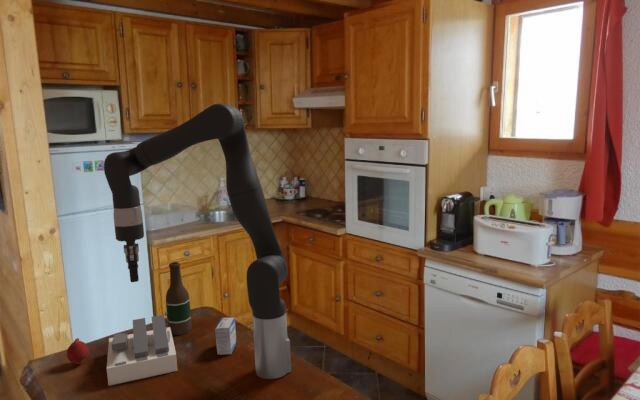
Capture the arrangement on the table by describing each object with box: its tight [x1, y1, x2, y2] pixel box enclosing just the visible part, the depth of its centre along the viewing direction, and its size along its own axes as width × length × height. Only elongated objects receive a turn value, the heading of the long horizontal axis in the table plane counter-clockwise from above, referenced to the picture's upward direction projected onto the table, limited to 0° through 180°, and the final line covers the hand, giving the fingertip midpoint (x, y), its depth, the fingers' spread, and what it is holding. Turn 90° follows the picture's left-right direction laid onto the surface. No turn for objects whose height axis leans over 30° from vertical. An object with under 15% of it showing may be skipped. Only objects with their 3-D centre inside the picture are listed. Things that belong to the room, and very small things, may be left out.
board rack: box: [106, 326, 179, 387], centre depth 138 cm, size 18×20×8 cm
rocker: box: [132, 317, 149, 358], centre depth 137 cm, size 4×16×2 cm, turn 22°
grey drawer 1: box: [151, 314, 169, 354], centre depth 139 cm, size 4×16×2 cm, turn 22°
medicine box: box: [214, 317, 237, 356], centre depth 144 cm, size 8×4×9 cm, turn 179°
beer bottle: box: [165, 261, 193, 336], centre depth 157 cm, size 8×8×24 cm
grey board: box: [112, 332, 128, 350], centre depth 135 cm, size 4×16×2 cm, turn 22°
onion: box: [66, 337, 90, 365], centre depth 138 cm, size 6×6×8 cm
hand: (134, 281), depth 134 cm, fingers closed
